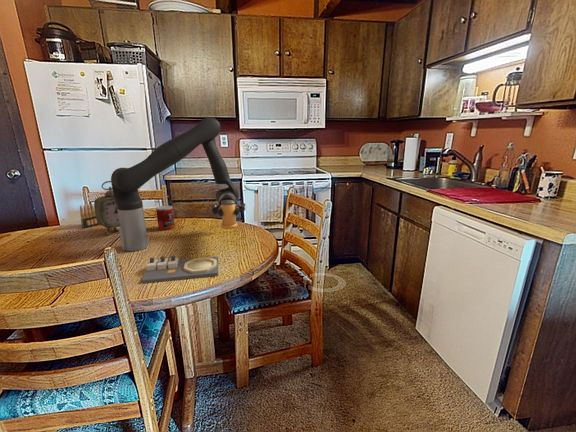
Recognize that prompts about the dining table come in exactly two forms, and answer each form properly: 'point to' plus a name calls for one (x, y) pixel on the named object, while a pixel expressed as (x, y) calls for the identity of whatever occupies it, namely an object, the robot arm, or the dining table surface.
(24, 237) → the dining table surface
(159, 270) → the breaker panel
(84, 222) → the ammunition clip
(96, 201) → the tabletop clock
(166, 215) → the canned food
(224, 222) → the cap
